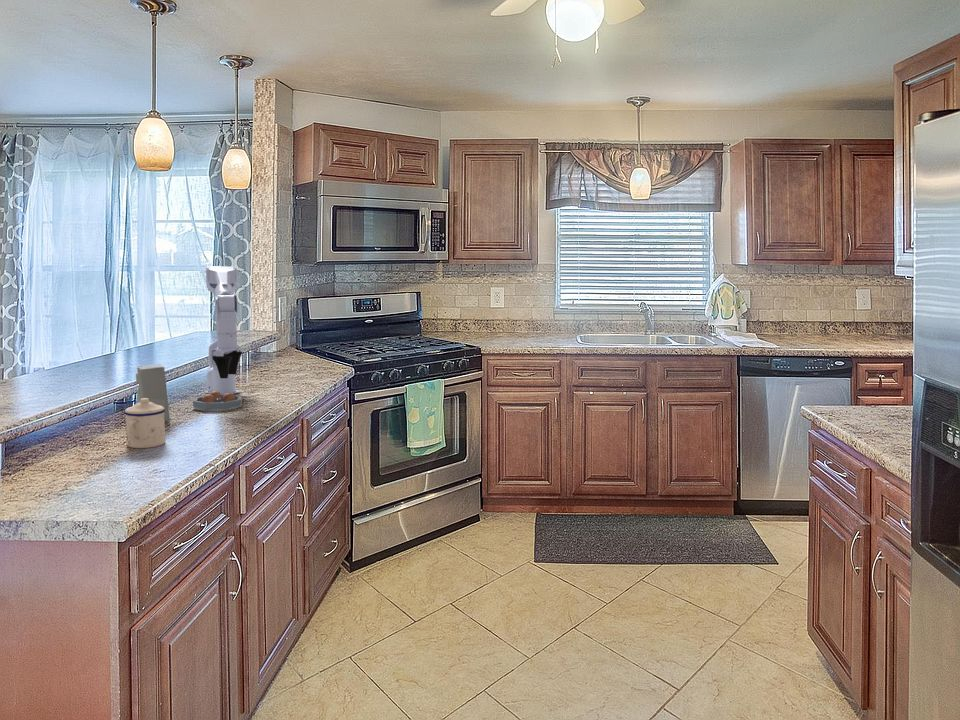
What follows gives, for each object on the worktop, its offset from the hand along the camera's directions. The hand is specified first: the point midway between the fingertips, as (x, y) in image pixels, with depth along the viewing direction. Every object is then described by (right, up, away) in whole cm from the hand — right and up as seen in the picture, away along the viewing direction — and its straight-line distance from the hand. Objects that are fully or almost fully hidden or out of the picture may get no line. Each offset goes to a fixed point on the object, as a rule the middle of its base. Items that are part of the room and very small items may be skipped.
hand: (228, 376), depth 214 cm
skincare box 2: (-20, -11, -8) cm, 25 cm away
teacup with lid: (-4, -16, -45) cm, 48 cm away
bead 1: (-5, -7, +3) cm, 9 cm away
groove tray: (-4, -10, +1) cm, 11 cm away
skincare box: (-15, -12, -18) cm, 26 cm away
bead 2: (0, -7, +1) cm, 7 cm away
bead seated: (-5, -7, -2) cm, 9 cm away
